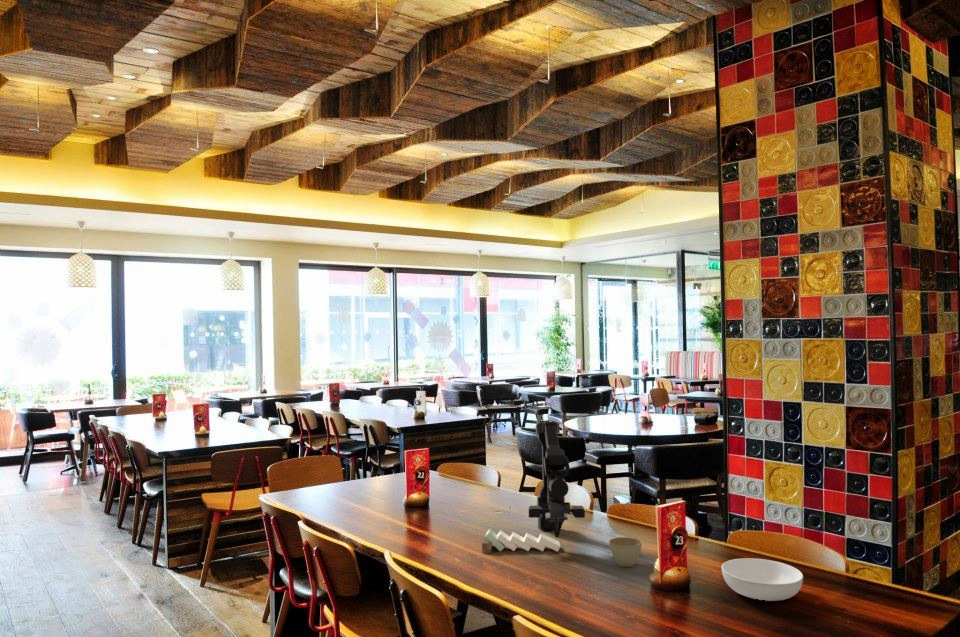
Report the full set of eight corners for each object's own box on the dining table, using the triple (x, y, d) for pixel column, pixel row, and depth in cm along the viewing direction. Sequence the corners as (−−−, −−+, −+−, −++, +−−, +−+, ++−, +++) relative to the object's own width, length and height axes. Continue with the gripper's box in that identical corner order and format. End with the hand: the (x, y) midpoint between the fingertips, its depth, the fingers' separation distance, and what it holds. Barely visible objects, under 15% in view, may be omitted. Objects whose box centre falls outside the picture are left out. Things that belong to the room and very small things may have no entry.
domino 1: (517, 542, 241) (500, 530, 242) (517, 546, 236) (500, 534, 237) (514, 546, 241) (497, 534, 242) (514, 551, 236) (496, 539, 237)
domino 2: (531, 541, 241) (512, 531, 241) (531, 546, 236) (512, 535, 236) (528, 546, 241) (510, 536, 241) (528, 551, 236) (509, 541, 236)
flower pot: (643, 560, 224) (643, 538, 225) (640, 570, 215) (639, 547, 215) (612, 558, 228) (611, 535, 228) (607, 567, 218) (606, 544, 218)
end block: (492, 545, 243) (492, 536, 243) (491, 552, 235) (491, 543, 235) (483, 545, 243) (483, 536, 243) (482, 552, 235) (482, 543, 235)
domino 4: (559, 541, 240) (540, 533, 241) (560, 546, 235) (540, 537, 236) (557, 547, 240) (538, 538, 241) (557, 551, 235) (538, 542, 236)
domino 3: (545, 541, 240) (526, 532, 241) (545, 546, 236) (526, 536, 236) (542, 547, 241) (523, 537, 241) (542, 551, 236) (523, 542, 236)
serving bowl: (762, 615, 180) (761, 588, 180) (705, 588, 199) (705, 564, 200) (821, 601, 189) (820, 575, 189) (761, 577, 208) (761, 554, 208)
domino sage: (505, 542, 241) (490, 528, 241) (504, 547, 236) (489, 532, 236) (500, 547, 241) (486, 532, 242) (500, 551, 236) (485, 536, 237)
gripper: (528, 496, 231) (529, 544, 230) (585, 496, 229) (586, 544, 229) (528, 488, 242) (529, 534, 241) (583, 488, 241) (584, 534, 240)
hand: (556, 537), depth 238 cm, fingers closed
